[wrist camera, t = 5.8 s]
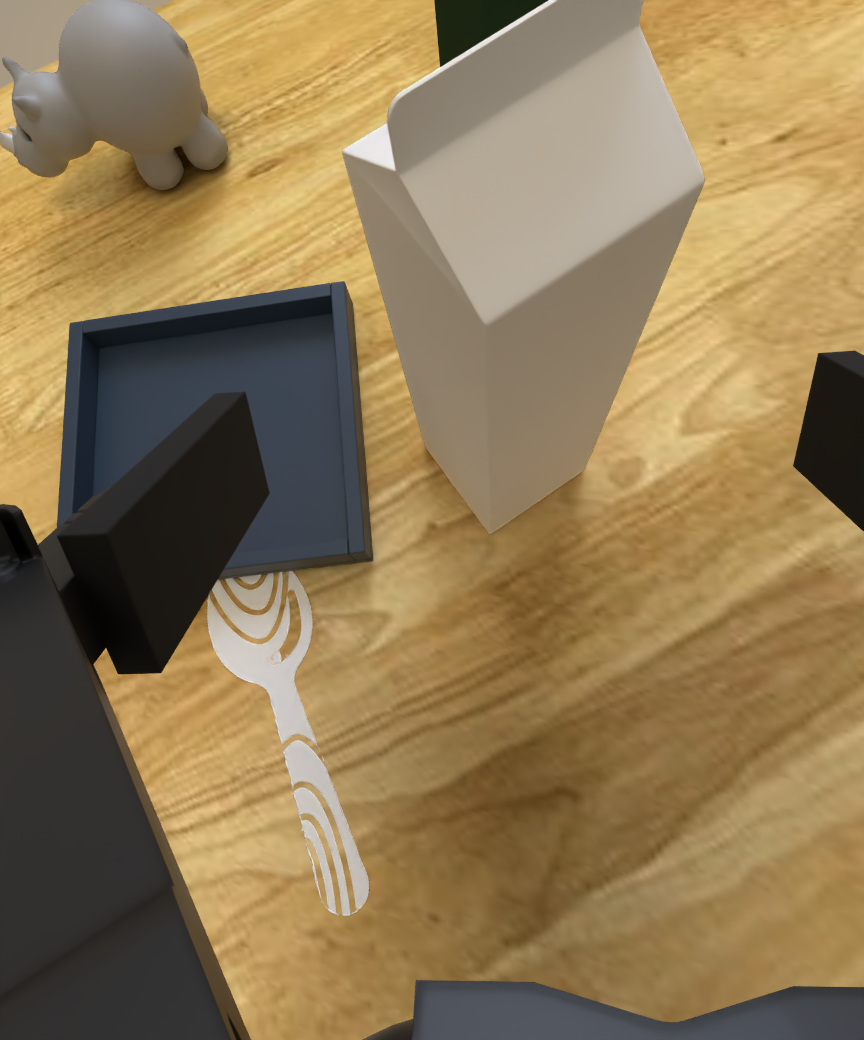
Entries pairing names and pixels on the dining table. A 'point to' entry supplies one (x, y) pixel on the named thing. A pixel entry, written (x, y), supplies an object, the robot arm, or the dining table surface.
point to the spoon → (287, 713)
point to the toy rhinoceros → (115, 97)
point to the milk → (525, 241)
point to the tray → (272, 401)
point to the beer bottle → (474, 22)
